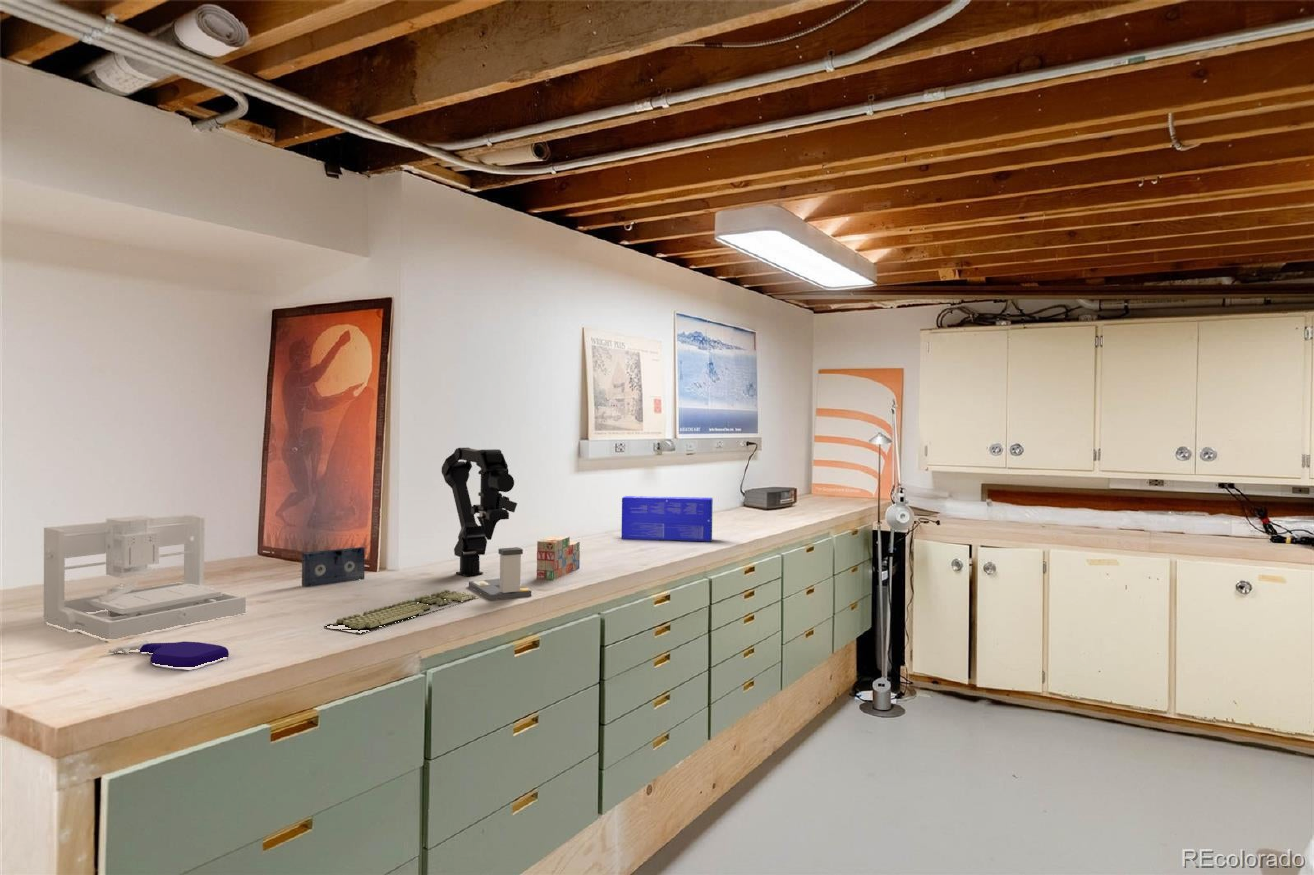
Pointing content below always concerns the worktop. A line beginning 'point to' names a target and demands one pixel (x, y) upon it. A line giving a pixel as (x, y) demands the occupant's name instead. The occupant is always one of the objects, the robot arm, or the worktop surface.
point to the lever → (510, 569)
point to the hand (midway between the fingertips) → (489, 539)
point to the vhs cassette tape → (332, 566)
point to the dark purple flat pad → (177, 652)
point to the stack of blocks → (557, 557)
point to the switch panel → (496, 589)
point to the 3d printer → (128, 556)
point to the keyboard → (399, 611)
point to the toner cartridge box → (667, 518)
